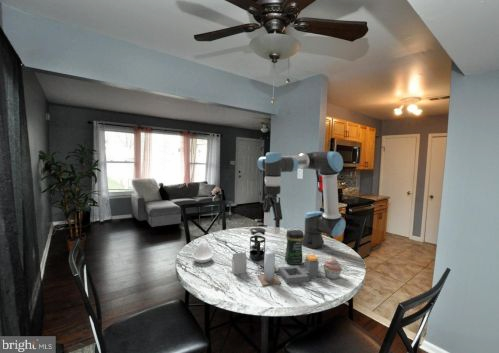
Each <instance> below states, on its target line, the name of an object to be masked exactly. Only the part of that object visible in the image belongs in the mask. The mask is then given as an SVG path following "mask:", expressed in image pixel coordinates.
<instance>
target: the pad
mask: <svg viewBox="0 0 499 353" xmlns="http://www.w3.org/2000/svg"><path fill="white" fill-rule="evenodd" d="M257 278H258V280H259V282H260V283H261V285H262V287H266V286H275V285H282V282H281V280H280V279H279V277H278V276H277V275H276V274H275V272H274V281H266V280H264V274H258V275H257Z"/></svg>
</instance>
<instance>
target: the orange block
mask: <svg viewBox="0 0 499 353" xmlns="http://www.w3.org/2000/svg"><path fill="white" fill-rule="evenodd" d="M305 258H307V259H308V261H310V262H316V261H318V262H319V257H317V256H316V255H315V254H306V255H305V257H304V259H305Z"/></svg>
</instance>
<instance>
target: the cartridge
mask: <svg viewBox="0 0 499 353" xmlns="http://www.w3.org/2000/svg"><path fill="white" fill-rule="evenodd" d="M263 261H264V265H263V269H264V270H263V275H264V280H266V281H274V273H275V271H276V270H275V269H276V268H275V267H276V266H275V265H276V252H275V251H274V250H265V259H264V260H263Z"/></svg>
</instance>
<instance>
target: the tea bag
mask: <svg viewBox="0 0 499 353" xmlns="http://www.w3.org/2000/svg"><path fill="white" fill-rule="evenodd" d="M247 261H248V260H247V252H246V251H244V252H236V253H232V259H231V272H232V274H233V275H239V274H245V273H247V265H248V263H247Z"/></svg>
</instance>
